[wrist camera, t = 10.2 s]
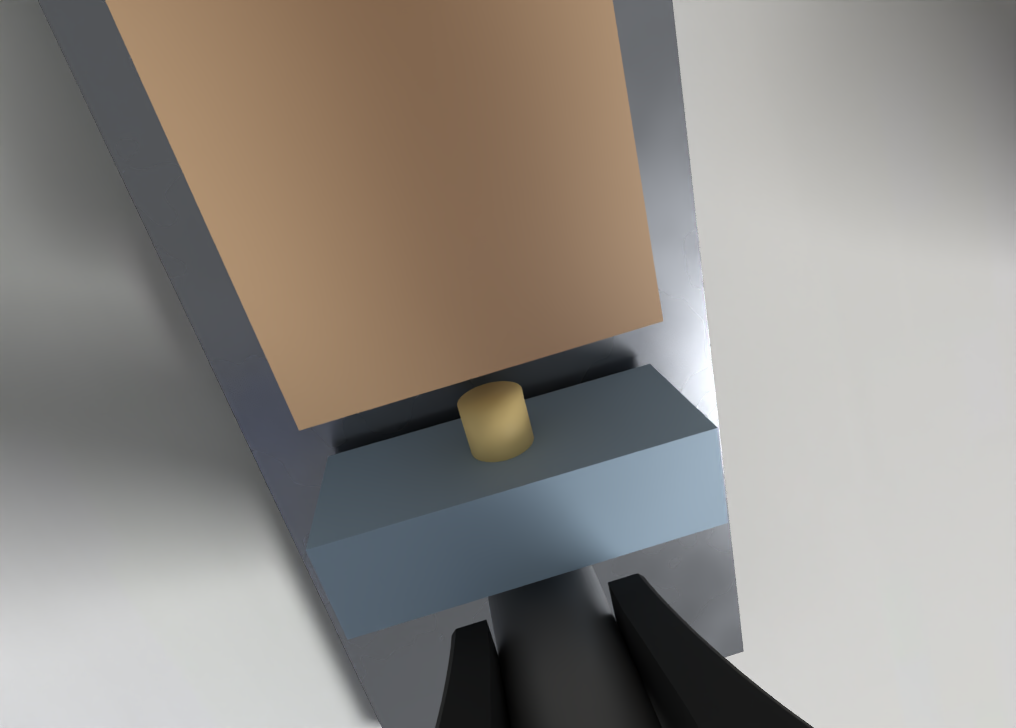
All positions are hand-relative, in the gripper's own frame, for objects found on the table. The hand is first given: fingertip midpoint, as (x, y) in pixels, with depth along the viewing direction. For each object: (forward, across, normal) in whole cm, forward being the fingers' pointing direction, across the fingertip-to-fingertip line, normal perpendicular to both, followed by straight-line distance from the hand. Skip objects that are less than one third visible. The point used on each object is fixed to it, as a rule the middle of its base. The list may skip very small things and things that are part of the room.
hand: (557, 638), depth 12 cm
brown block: (+3, 0, -9) cm, 9 cm away
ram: (+3, 0, -2) cm, 3 cm away
